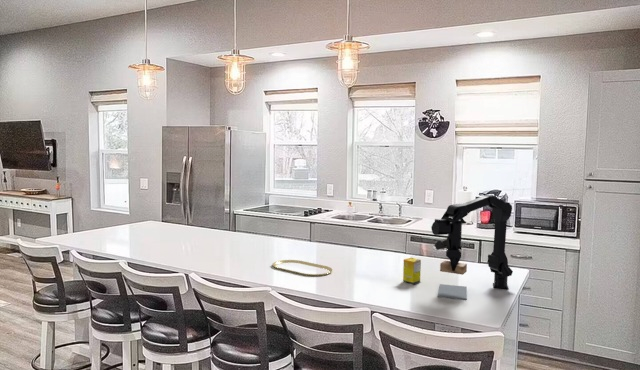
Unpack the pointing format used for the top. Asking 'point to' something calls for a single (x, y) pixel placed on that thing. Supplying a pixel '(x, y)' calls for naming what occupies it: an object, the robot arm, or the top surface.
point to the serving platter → (304, 264)
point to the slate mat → (452, 291)
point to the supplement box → (411, 270)
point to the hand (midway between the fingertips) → (453, 268)
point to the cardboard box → (446, 267)
